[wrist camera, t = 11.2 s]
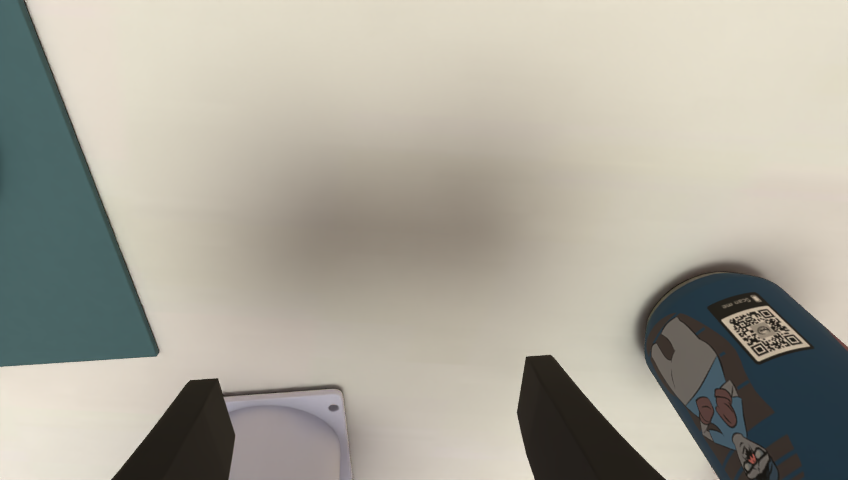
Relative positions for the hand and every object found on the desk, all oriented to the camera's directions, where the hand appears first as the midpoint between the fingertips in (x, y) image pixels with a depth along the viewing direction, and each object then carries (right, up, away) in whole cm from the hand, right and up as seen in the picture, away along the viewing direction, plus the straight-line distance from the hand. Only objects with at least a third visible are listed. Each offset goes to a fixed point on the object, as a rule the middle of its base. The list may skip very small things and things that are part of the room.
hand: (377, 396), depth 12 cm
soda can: (+15, 0, +13) cm, 20 cm away
